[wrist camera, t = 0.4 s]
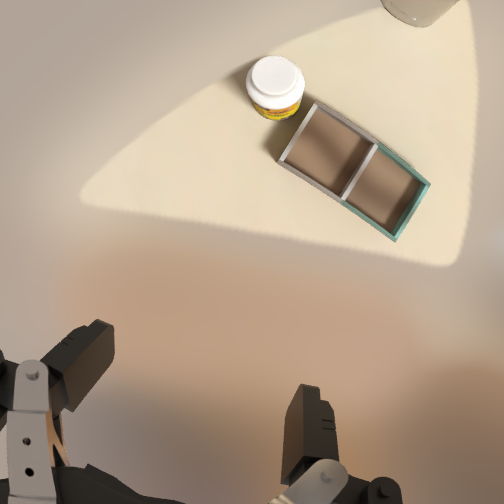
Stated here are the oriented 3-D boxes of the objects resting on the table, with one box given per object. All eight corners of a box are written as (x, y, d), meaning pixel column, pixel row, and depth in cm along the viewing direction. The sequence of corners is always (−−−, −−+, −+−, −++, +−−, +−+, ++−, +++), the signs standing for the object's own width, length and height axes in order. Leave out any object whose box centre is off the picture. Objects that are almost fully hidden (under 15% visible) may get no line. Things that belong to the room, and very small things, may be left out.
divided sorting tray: (313, 105, 31) (316, 100, 28) (421, 182, 32) (431, 184, 29) (277, 163, 33) (276, 163, 31) (387, 237, 34) (395, 242, 32)
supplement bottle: (247, 114, 32) (232, 93, 22) (261, 74, 30) (252, 40, 21) (292, 128, 32) (296, 111, 22) (306, 87, 30) (314, 57, 21)
